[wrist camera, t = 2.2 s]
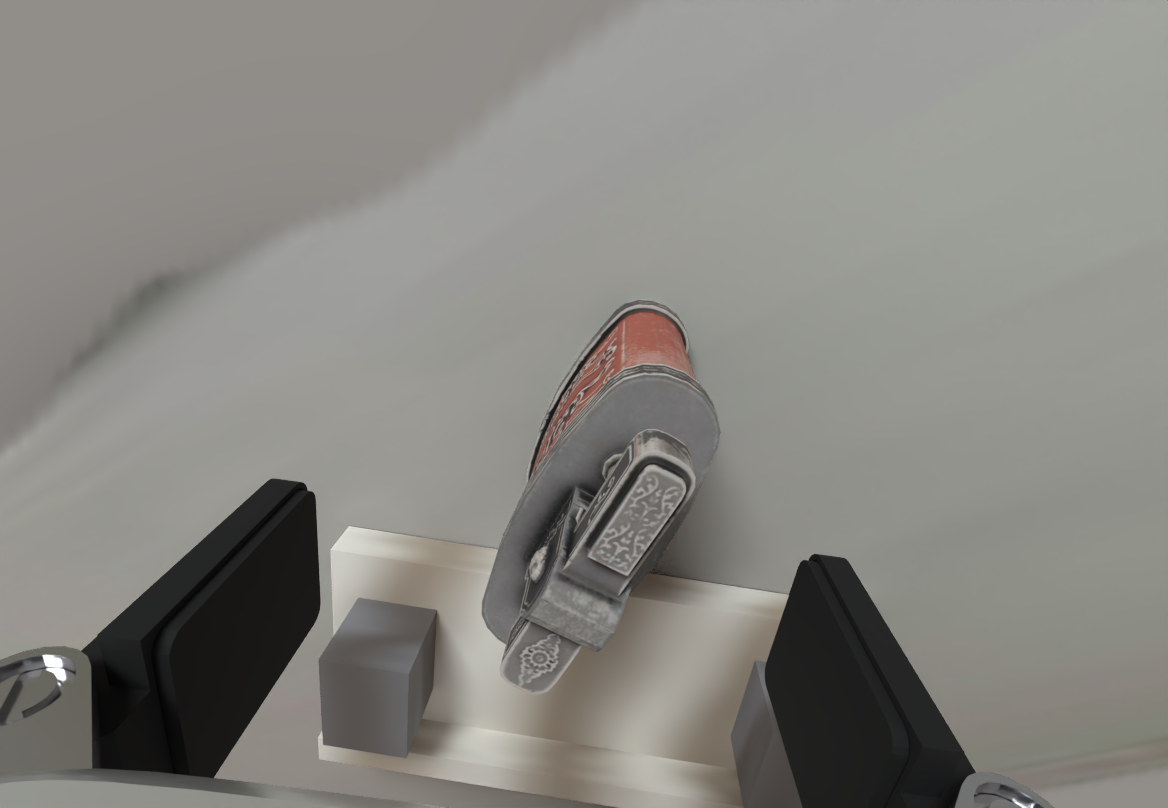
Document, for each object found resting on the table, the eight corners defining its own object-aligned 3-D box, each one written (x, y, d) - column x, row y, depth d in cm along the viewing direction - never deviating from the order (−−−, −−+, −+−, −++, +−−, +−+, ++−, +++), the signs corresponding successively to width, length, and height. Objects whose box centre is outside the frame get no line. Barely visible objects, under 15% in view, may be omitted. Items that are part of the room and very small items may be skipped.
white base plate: (863, 606, 22) (919, 707, 18) (799, 767, 25) (833, 884, 21) (349, 526, 22) (285, 606, 18) (352, 695, 26) (299, 796, 22)
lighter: (591, 515, 21) (562, 773, 12) (509, 474, 21) (416, 709, 12) (710, 330, 19) (792, 485, 9) (618, 279, 18) (609, 386, 9)
